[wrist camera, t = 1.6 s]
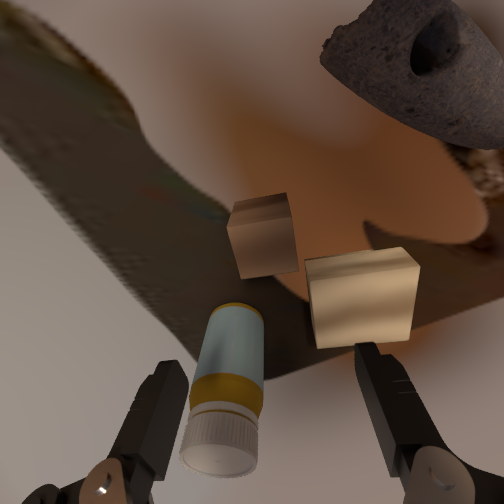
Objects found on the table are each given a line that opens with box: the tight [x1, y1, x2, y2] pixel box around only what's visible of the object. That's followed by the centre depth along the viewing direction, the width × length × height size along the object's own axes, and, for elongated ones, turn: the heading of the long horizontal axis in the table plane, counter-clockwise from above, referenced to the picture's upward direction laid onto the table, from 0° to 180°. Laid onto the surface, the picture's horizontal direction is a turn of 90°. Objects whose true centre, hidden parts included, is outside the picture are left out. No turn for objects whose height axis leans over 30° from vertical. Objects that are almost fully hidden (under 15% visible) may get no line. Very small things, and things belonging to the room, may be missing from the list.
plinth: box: [304, 247, 420, 349], centre depth 27 cm, size 10×10×4 cm
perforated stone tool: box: [320, 0, 504, 150], centre depth 16 cm, size 15×5×7 cm, turn 61°
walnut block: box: [227, 193, 299, 279], centre depth 22 cm, size 5×5×6 cm
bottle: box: [179, 302, 264, 478], centre depth 26 cm, size 7×7×15 cm
